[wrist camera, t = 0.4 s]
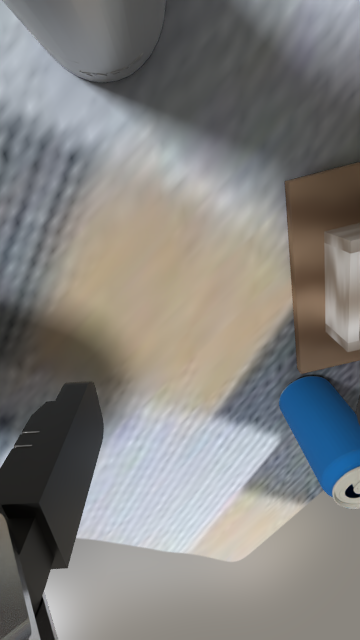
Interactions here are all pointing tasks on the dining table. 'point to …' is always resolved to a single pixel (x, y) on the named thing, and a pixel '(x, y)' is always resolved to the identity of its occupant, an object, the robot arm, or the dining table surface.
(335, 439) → the beverage can
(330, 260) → the guard socket
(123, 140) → the dining table surface
